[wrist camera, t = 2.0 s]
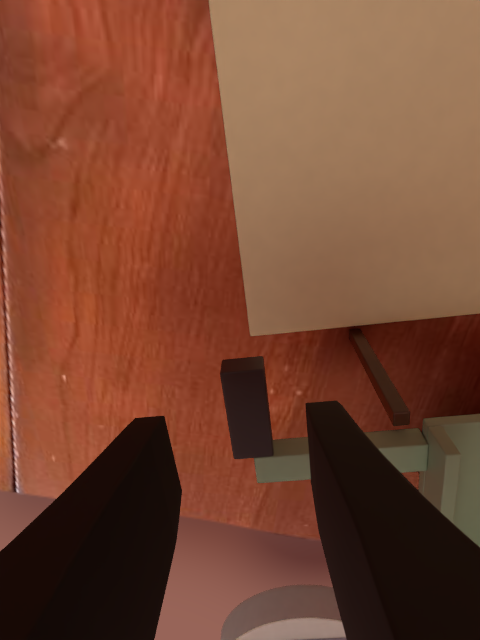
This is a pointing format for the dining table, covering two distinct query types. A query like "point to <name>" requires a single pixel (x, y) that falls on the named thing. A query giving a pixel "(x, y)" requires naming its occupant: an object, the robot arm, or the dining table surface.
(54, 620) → the robot arm
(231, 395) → the tray
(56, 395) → the dining table surface
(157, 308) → the dining table surface
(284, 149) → the mat
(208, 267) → the dining table surface
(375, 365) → the stand
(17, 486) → the dining table surface
